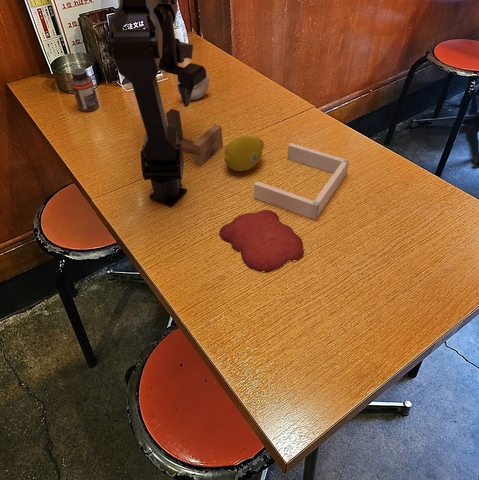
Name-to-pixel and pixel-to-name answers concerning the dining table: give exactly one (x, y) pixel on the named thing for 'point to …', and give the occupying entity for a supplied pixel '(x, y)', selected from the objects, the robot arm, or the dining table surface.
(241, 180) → the dining table surface
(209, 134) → the scraper
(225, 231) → the red spill
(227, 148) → the lemon
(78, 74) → the supplement bottle
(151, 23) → the robot arm
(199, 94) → the donut
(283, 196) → the box
